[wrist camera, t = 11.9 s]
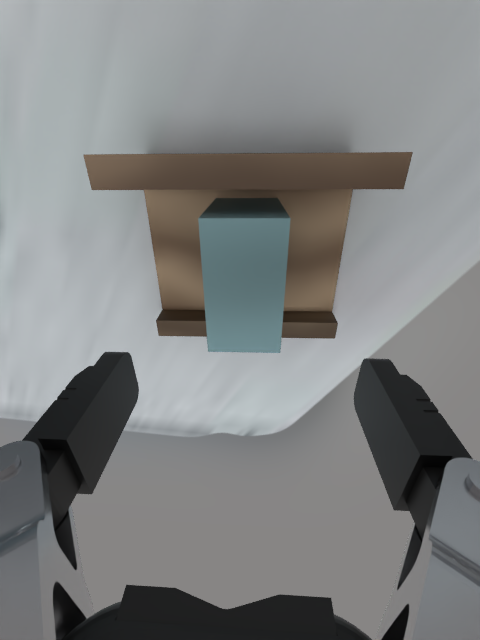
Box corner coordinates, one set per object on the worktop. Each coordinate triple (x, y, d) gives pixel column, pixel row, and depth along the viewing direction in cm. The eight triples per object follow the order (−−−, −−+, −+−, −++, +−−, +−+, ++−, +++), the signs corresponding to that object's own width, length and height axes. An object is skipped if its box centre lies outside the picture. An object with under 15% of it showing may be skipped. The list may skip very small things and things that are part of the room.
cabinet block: (216, 198, 21) (198, 218, 14) (277, 197, 21) (290, 218, 14) (220, 297, 25) (208, 351, 18) (272, 297, 25) (280, 352, 18)
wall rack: (145, 155, 21) (83, 154, 13) (352, 154, 21) (412, 152, 13) (169, 316, 28) (136, 378, 20) (325, 318, 27) (355, 382, 20)
